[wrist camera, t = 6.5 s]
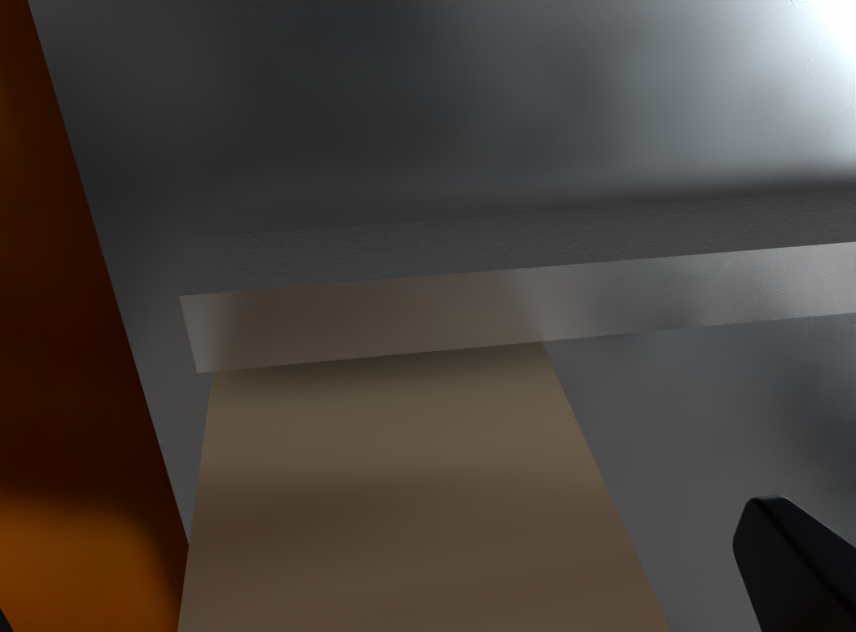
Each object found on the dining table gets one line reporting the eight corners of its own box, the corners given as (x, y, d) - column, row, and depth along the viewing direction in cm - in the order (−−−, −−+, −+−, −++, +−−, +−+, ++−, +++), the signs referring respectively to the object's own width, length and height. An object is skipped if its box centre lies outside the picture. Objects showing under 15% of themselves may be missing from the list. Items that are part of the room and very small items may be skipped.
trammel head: (507, 560, 13) (607, 926, 9) (267, 591, 12) (255, 992, 8) (531, 319, 10) (703, 703, 6) (216, 346, 9) (156, 786, 5)
